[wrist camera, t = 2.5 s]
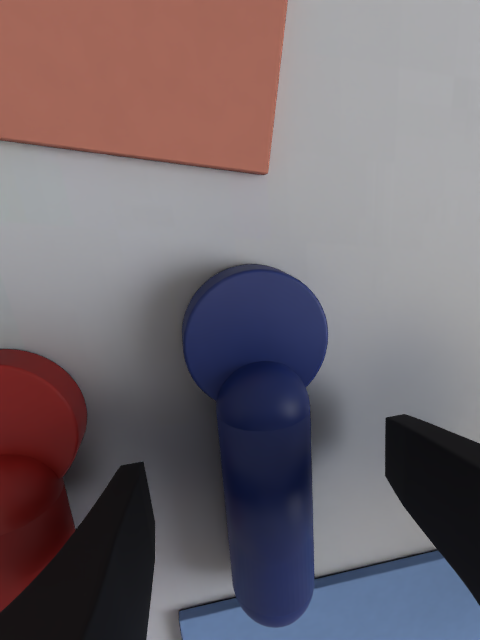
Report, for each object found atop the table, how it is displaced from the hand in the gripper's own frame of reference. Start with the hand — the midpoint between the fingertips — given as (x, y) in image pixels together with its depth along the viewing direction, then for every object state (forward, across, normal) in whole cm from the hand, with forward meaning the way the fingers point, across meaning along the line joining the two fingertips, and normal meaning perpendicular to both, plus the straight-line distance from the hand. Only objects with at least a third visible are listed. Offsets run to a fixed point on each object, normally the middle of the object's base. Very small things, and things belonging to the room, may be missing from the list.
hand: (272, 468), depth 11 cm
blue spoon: (+1, 0, 0) cm, 1 cm away
